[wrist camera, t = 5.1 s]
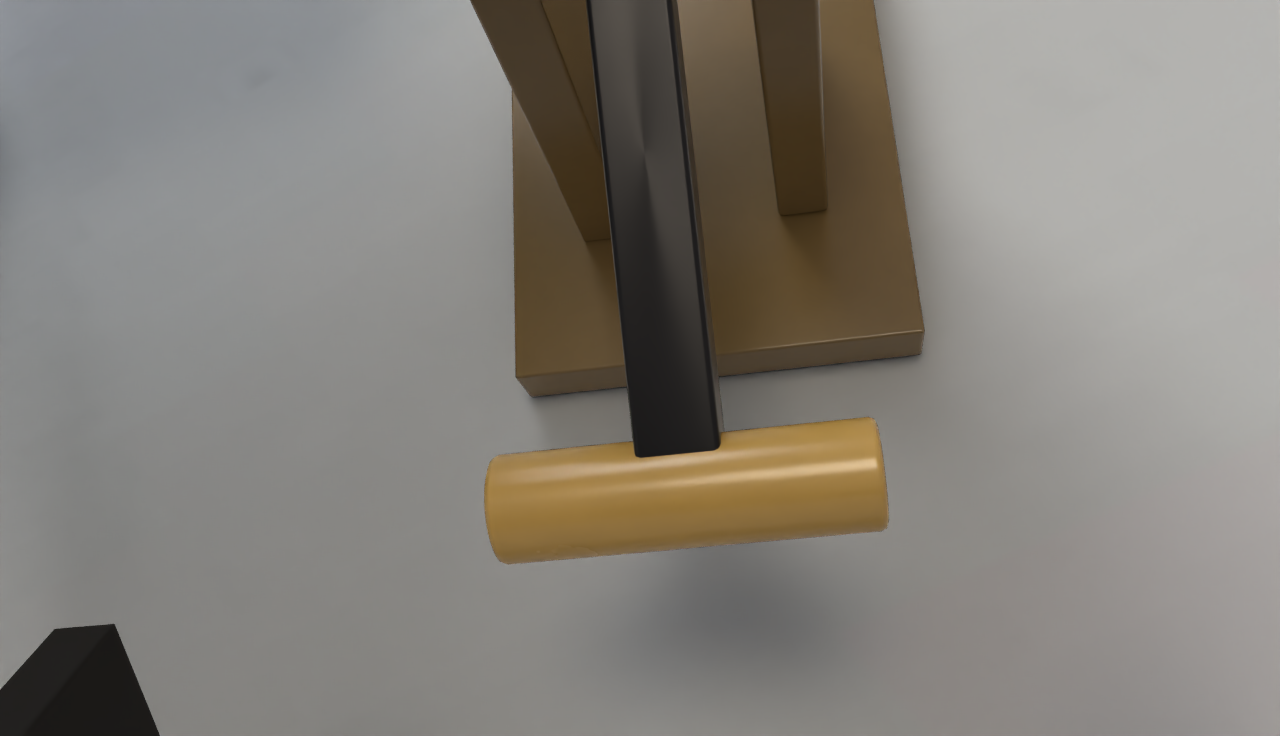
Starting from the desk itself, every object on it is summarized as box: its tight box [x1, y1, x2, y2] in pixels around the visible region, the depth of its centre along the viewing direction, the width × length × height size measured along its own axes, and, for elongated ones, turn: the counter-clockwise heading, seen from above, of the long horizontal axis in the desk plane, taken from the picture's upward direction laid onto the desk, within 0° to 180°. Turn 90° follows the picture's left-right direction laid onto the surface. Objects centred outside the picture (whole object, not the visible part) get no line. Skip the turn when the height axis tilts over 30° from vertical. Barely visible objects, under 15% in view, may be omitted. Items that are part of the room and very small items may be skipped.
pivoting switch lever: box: [484, 0, 889, 564], centre depth 15 cm, size 12×5×2 cm, turn 3°
